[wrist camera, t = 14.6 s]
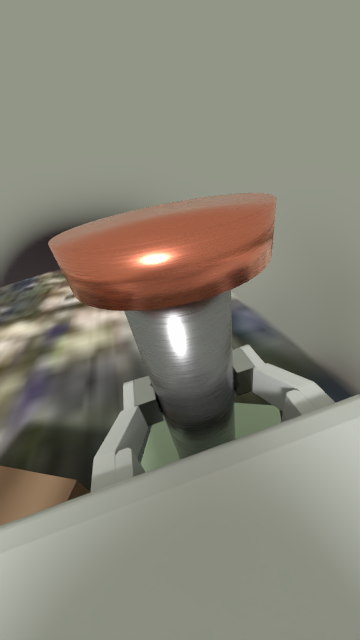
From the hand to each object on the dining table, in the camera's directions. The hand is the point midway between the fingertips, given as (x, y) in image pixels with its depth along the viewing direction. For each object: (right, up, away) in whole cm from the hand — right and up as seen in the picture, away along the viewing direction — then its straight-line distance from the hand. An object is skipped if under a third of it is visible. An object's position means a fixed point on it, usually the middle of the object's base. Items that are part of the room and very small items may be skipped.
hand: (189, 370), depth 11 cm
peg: (+2, -8, +5) cm, 10 cm away
